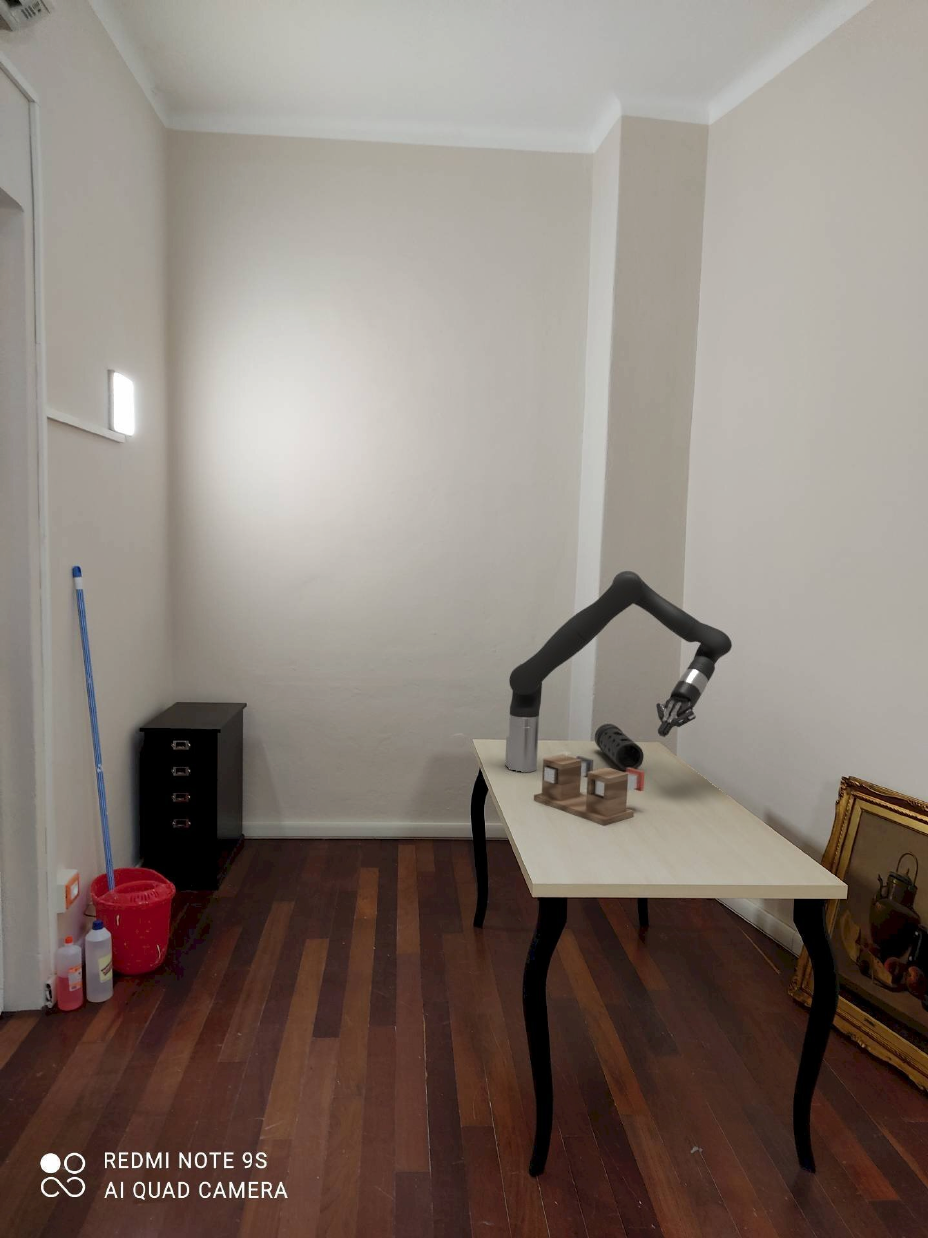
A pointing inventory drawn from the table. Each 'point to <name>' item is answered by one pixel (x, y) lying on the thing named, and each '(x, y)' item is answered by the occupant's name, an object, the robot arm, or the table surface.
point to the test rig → (590, 805)
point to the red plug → (633, 781)
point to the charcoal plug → (552, 772)
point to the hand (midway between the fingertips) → (661, 734)
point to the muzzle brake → (618, 747)
